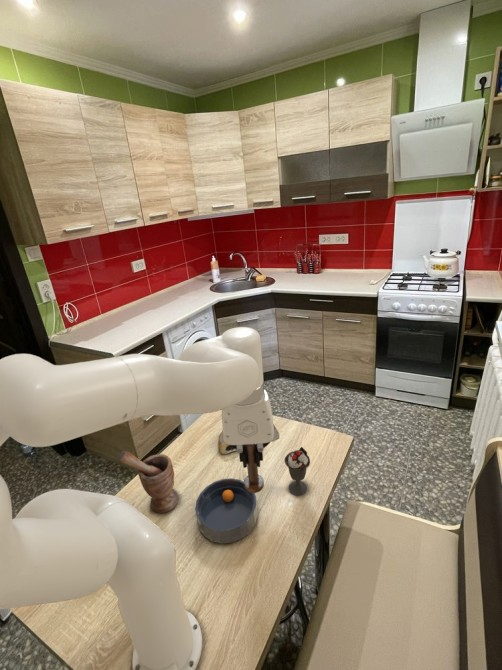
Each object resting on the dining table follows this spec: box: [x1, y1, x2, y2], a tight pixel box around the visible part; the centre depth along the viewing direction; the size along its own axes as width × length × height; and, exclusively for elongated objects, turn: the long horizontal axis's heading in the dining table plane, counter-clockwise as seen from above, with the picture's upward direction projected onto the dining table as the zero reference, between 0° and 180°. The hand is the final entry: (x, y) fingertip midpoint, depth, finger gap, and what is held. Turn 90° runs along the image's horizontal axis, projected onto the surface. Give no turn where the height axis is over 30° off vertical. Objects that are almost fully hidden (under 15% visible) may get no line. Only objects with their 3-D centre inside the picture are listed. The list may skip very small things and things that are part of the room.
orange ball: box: [222, 490, 234, 502], centre depth 92 cm, size 3×3×3 cm
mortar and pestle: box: [117, 450, 179, 514], centre depth 89 cm, size 12×9×20 cm
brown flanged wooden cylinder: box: [243, 444, 265, 494], centre depth 75 cm, size 4×4×12 cm
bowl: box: [194, 478, 259, 544], centre depth 87 cm, size 15×15×5 cm
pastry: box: [217, 431, 237, 455], centre depth 112 cm, size 9×7×4 cm
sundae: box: [284, 446, 311, 496], centre depth 91 cm, size 7×7×15 cm
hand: (251, 462), depth 74 cm, fingers closed on brown flanged wooden cylinder, 2 cm apart
